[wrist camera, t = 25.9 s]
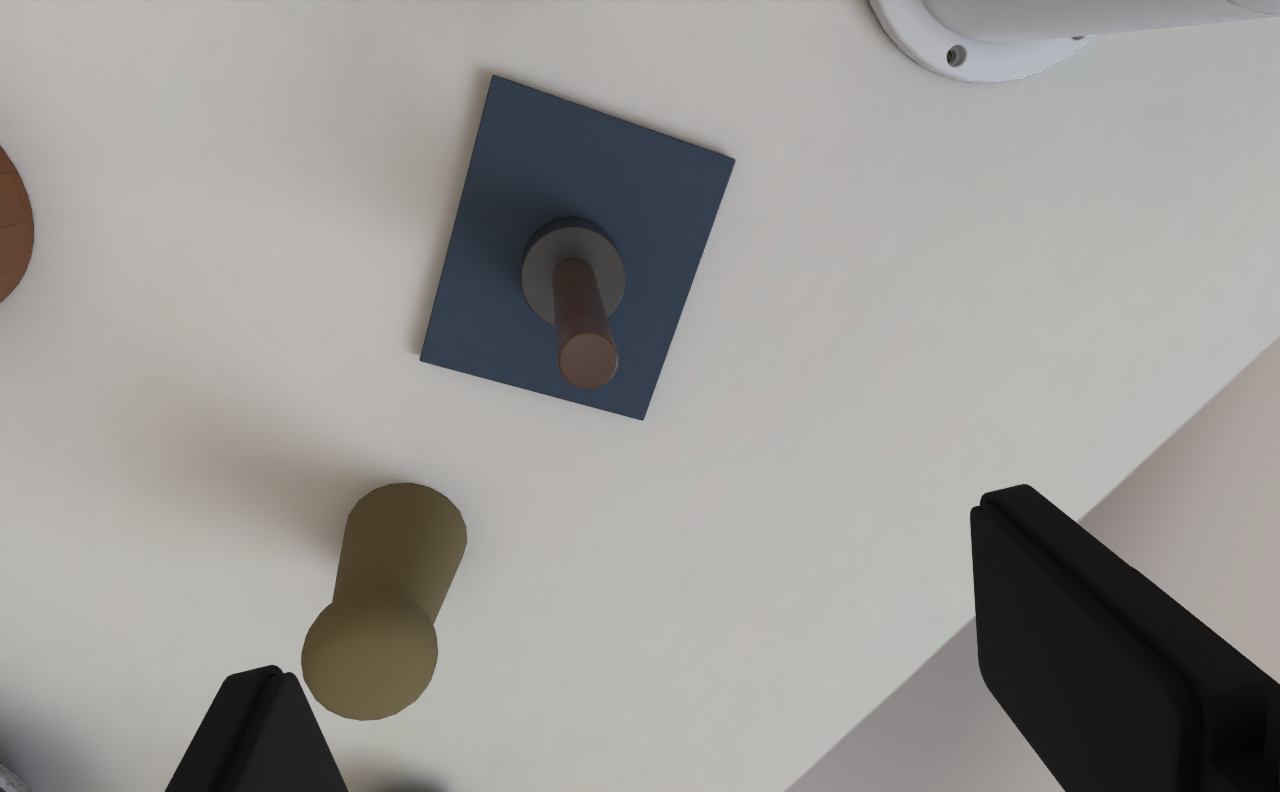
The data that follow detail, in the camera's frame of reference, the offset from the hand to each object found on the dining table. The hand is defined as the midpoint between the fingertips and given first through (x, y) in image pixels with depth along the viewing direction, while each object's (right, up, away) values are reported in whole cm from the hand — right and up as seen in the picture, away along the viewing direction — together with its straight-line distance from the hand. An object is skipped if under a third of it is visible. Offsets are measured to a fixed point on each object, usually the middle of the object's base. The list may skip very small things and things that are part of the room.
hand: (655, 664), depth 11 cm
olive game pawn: (-12, -3, +30) cm, 33 cm away
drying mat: (-3, +10, +26) cm, 28 cm away
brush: (-3, +10, +26) cm, 28 cm away
